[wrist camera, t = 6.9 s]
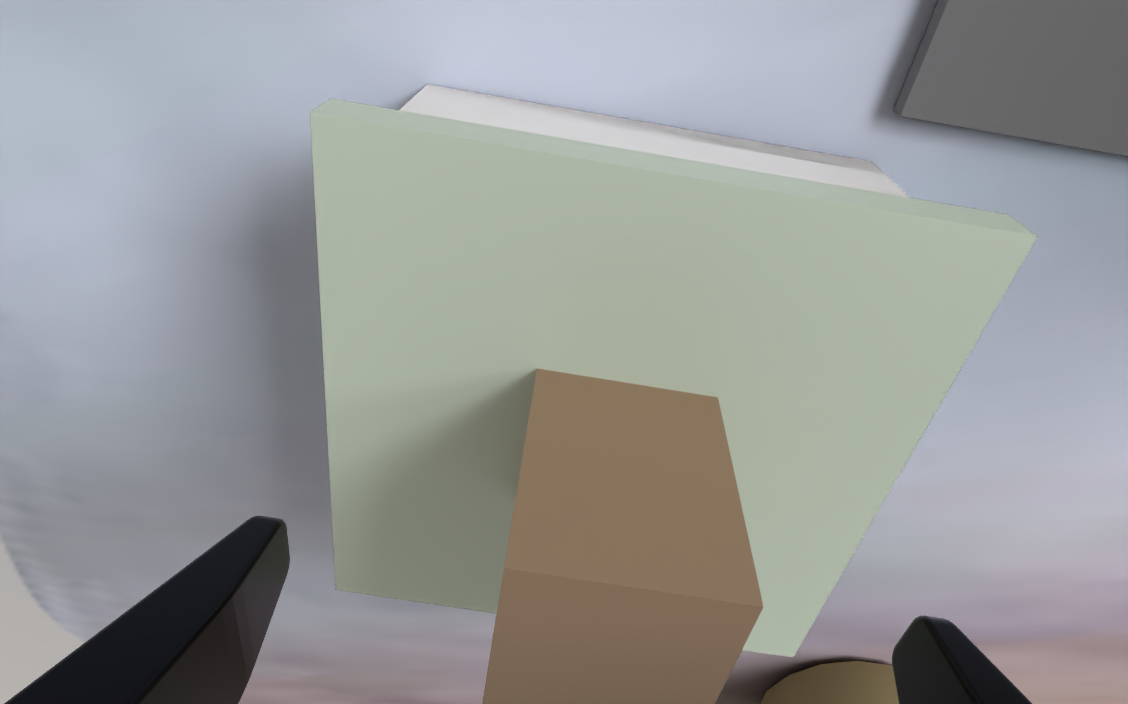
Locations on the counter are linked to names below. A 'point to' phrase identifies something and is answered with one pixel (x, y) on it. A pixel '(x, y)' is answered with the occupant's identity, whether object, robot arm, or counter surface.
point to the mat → (1025, 70)
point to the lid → (622, 389)
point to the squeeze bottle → (836, 685)
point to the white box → (650, 138)
